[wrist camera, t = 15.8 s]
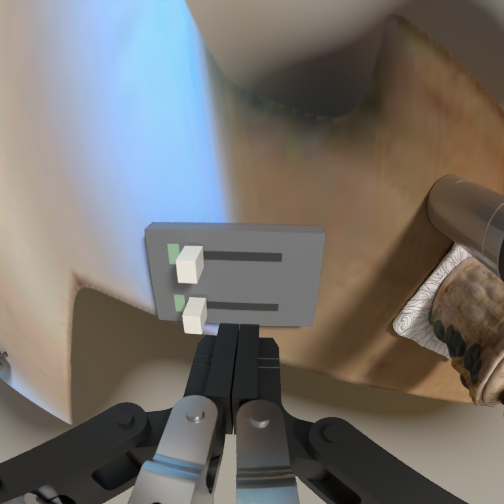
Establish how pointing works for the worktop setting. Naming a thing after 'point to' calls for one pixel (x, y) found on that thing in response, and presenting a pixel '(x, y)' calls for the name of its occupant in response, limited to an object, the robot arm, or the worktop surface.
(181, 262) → the block
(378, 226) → the worktop surface
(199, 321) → the block
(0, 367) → the tabletop clock
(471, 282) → the cookie jar
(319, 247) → the slider control panel
